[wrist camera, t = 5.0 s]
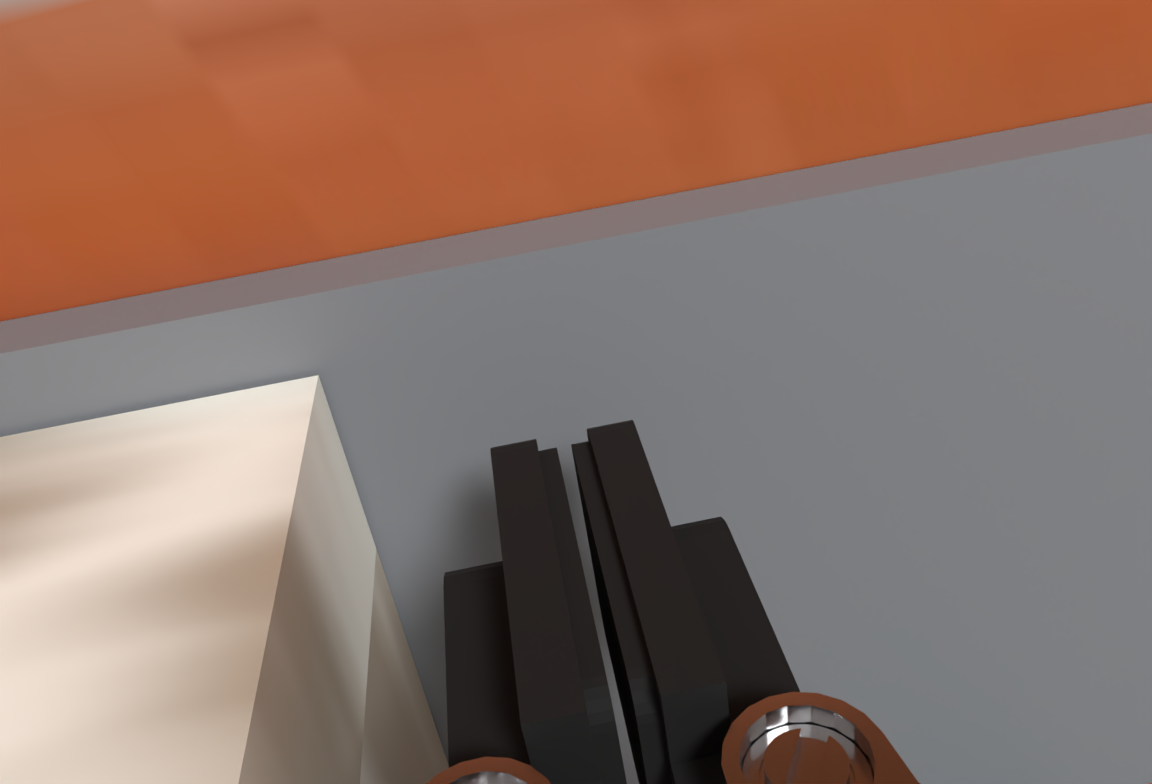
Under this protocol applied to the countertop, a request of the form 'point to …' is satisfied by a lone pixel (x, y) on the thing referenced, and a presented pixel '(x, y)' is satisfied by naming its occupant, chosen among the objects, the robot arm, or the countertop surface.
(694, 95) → the countertop surface
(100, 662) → the block
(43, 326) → the track
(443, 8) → the countertop surface
